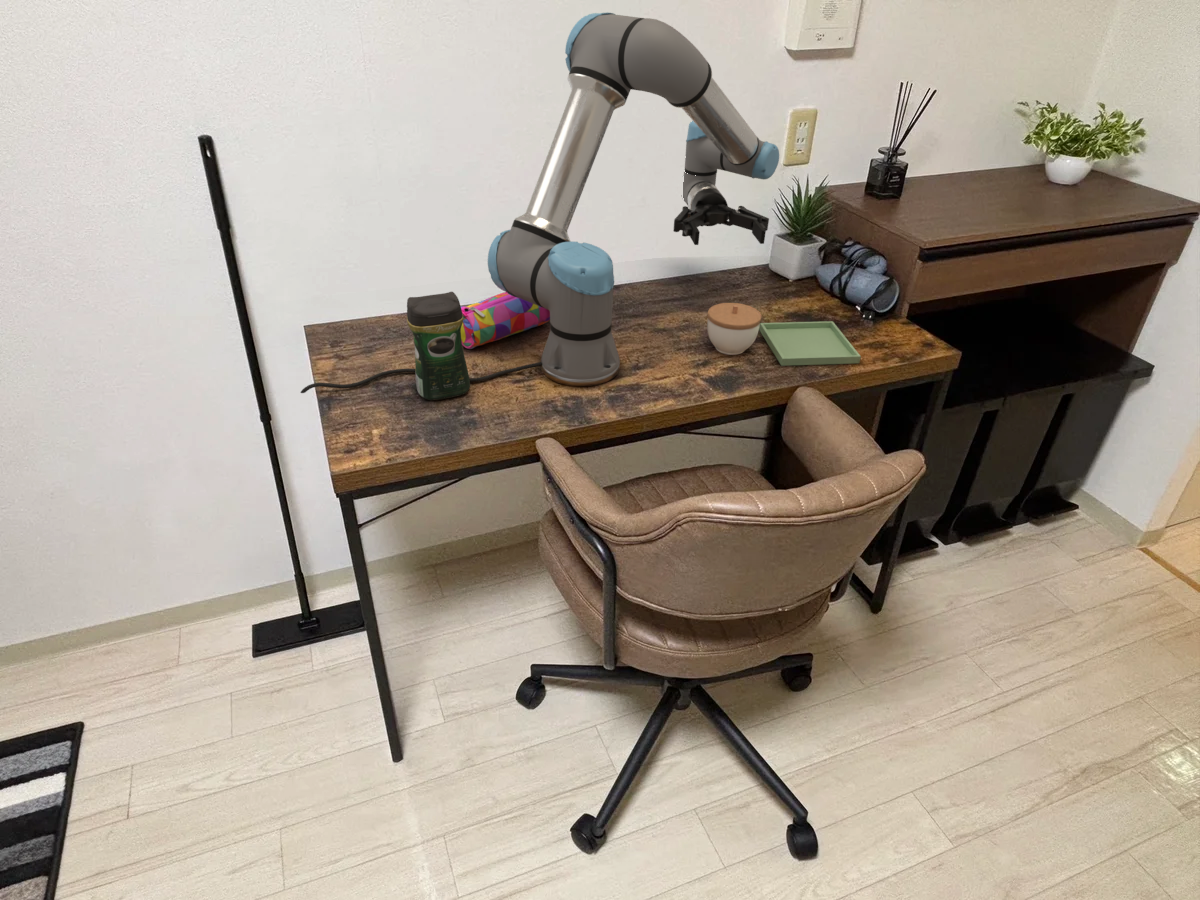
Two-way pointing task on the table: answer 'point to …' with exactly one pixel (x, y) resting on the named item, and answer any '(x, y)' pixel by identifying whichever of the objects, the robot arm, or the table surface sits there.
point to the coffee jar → (438, 345)
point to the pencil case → (499, 319)
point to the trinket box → (732, 327)
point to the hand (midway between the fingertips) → (730, 237)
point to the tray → (808, 343)
